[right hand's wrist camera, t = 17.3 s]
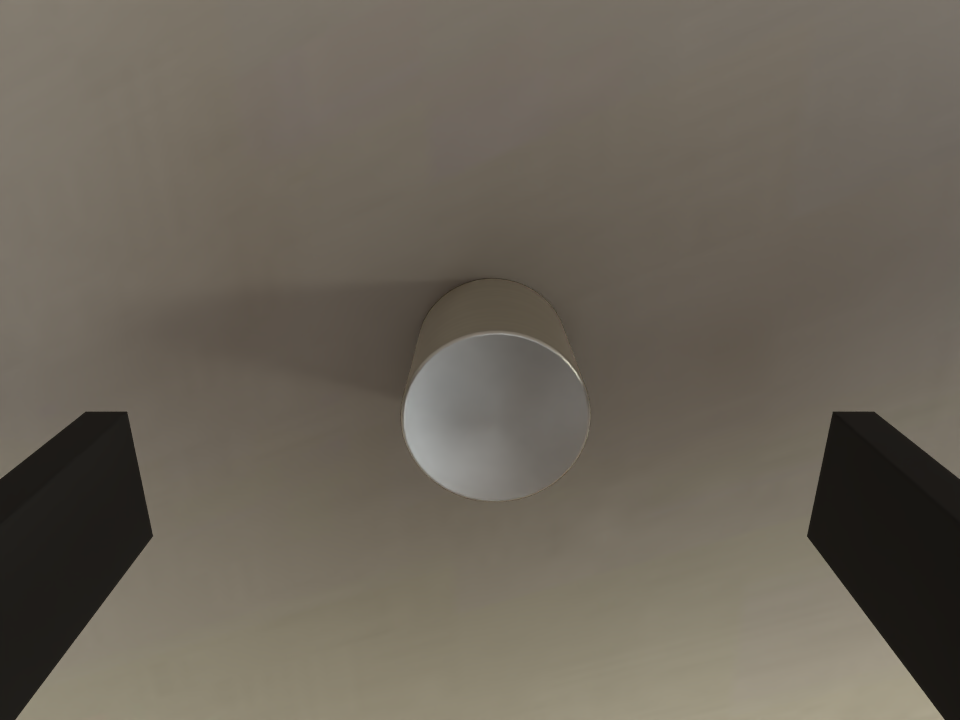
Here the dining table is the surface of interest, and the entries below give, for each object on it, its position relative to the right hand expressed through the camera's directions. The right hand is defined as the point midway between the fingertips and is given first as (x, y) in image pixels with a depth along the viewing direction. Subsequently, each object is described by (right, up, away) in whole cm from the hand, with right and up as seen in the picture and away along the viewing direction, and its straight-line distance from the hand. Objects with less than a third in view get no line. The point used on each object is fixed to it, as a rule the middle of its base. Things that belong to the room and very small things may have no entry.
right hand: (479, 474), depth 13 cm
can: (0, +2, +6) cm, 7 cm away
